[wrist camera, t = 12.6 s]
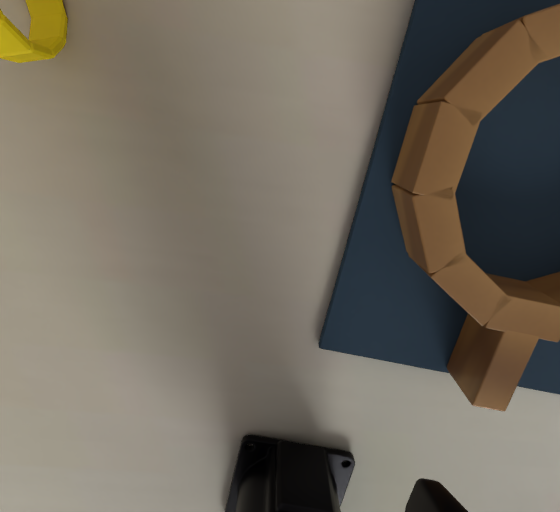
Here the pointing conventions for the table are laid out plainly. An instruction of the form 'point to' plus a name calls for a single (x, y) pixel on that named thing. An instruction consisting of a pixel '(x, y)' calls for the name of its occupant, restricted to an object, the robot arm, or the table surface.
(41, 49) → the yellow ring
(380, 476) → the table surface
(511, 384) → the hoop
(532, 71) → the mat
